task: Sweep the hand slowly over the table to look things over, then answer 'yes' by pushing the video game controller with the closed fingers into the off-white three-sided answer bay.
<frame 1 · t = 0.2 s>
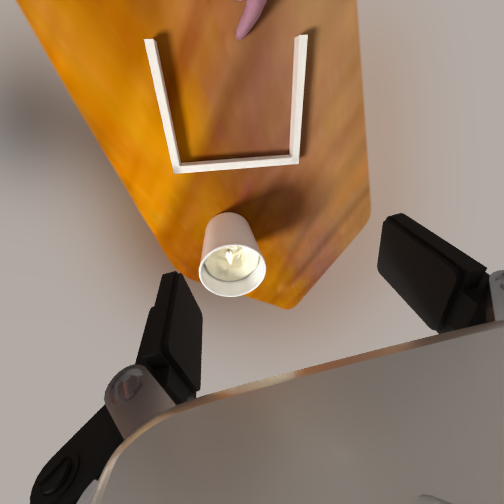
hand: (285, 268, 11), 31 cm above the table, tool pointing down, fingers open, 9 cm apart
candle holder: (228, 231, 45), on the table
answer bay: (232, 106, 33), on the table
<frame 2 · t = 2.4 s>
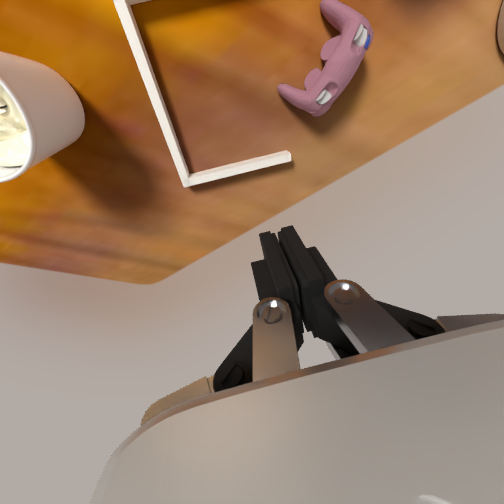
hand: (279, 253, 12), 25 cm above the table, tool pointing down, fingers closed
video game controller: (314, 64, 29), on the table
candle holder: (45, 106, 27), on the table
answer bay: (221, 90, 29), on the table
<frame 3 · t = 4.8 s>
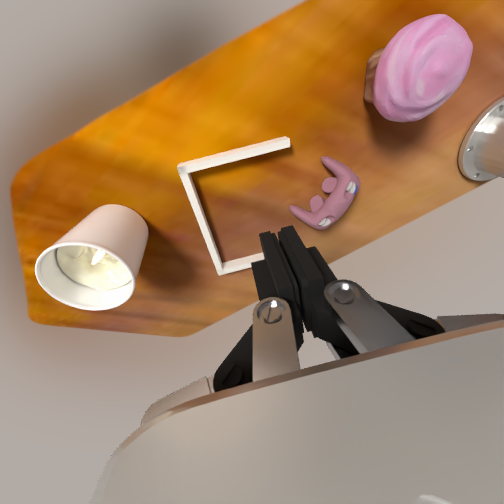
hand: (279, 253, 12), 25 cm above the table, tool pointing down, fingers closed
video game controller: (317, 189, 38), on the table
candle holder: (120, 228, 37), on the table
answer bay: (250, 211, 38), on the table
cupcake: (380, 76, 30), on the table
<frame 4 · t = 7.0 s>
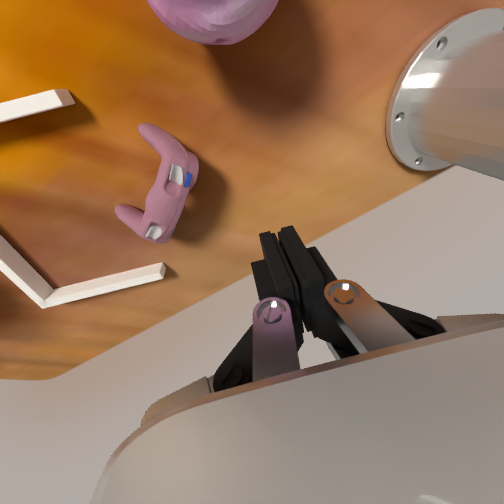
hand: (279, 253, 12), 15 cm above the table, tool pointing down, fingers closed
video game controller: (160, 180, 24), on the table
answer bay: (62, 215, 25), on the table
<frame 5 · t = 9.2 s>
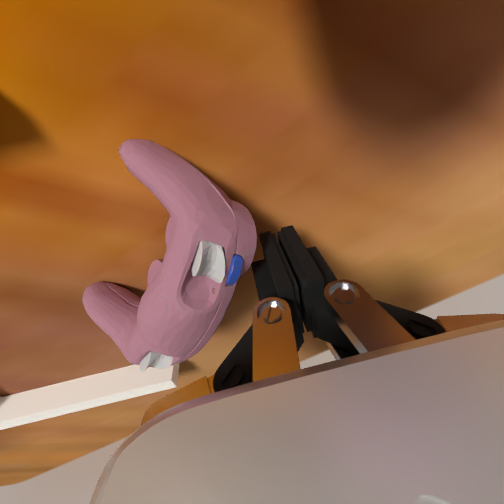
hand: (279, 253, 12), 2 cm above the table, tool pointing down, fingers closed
video game controller: (166, 239, 13), on the table, touching gripper
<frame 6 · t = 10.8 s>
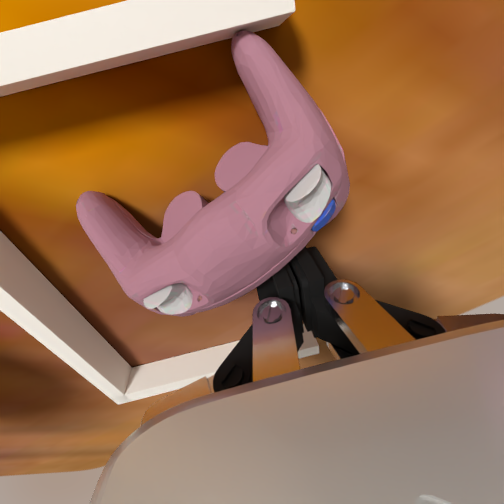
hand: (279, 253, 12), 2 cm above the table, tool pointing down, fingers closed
video game controller: (206, 175, 11), on the table, touching answer bay
answer bay: (178, 259, 13), on the table
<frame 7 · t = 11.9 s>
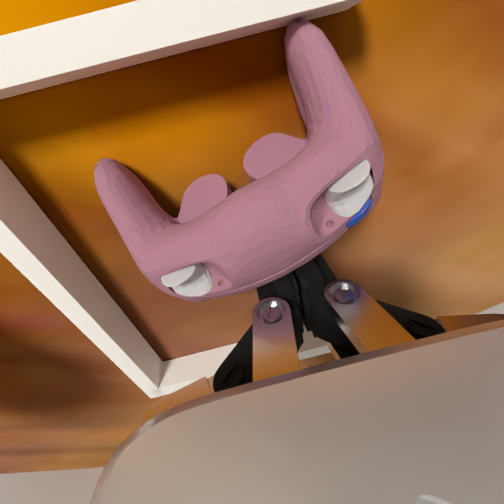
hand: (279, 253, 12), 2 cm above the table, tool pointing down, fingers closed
video game controller: (230, 161, 11), on the table
answer bay: (220, 250, 13), on the table
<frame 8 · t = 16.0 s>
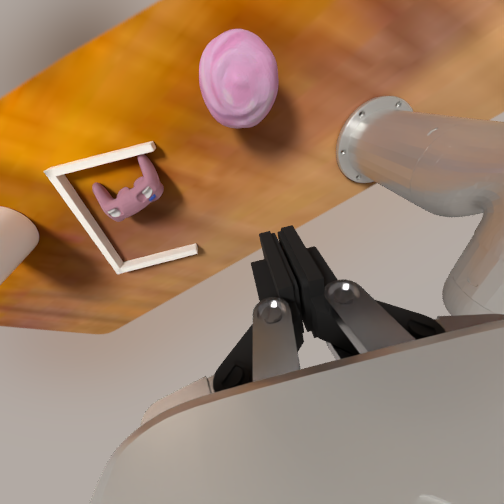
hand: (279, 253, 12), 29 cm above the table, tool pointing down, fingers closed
video game controller: (133, 183, 37), on the table
candle holder: (9, 228, 38), on the table
answer bay: (137, 212, 40), on the table
cupcake: (234, 84, 32), on the table
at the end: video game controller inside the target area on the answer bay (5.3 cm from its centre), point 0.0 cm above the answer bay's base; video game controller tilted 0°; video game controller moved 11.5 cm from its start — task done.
